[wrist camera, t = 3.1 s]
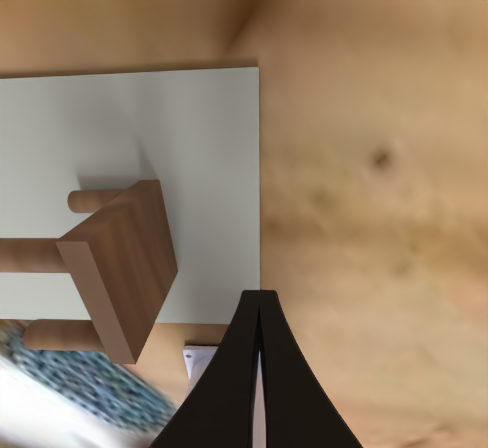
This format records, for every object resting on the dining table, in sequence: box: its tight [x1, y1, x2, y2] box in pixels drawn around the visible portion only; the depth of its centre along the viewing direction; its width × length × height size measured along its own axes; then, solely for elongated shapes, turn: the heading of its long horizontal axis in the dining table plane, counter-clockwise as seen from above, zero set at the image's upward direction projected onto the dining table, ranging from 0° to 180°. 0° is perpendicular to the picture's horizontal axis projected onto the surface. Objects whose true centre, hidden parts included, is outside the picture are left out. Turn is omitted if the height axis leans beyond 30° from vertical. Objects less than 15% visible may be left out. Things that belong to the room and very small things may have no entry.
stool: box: [0, 180, 178, 364], centre depth 13 cm, size 5×7×7 cm
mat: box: [0, 67, 260, 324], centre depth 17 cm, size 18×24×1 cm
